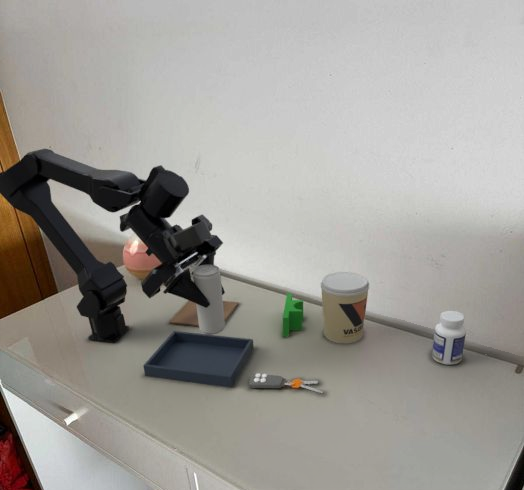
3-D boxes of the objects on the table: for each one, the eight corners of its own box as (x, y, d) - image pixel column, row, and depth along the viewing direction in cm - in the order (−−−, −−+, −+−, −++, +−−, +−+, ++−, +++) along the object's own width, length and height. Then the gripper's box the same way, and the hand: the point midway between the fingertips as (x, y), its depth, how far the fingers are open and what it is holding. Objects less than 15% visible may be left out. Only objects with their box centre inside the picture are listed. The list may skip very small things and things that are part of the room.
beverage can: (194, 330, 93) (186, 270, 86) (213, 320, 95) (207, 262, 89) (211, 338, 90) (204, 277, 84) (230, 328, 93) (225, 268, 86)
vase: (165, 263, 142) (155, 201, 133) (187, 278, 132) (178, 212, 123) (119, 276, 135) (106, 212, 126) (139, 292, 125) (125, 224, 116)
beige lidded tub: (344, 351, 97) (346, 295, 91) (310, 333, 103) (310, 280, 97) (375, 334, 102) (379, 280, 96) (341, 318, 108) (343, 267, 102)
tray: (145, 375, 93) (143, 365, 92) (175, 340, 104) (173, 330, 103) (231, 387, 88) (230, 377, 87) (253, 349, 99) (253, 339, 98)
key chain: (248, 390, 87) (247, 383, 87) (252, 377, 90) (251, 371, 90) (322, 394, 85) (322, 387, 84) (324, 381, 88) (324, 374, 87)
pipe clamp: (301, 337, 102) (301, 318, 100) (283, 337, 103) (282, 318, 100) (304, 311, 112) (303, 293, 109) (287, 311, 112) (286, 293, 110)
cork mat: (169, 323, 110) (169, 321, 110) (191, 300, 120) (191, 298, 120) (220, 328, 107) (219, 326, 107) (238, 304, 117) (238, 302, 116)
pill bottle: (460, 351, 94) (467, 310, 90) (462, 366, 90) (469, 324, 85) (431, 349, 96) (436, 307, 91) (431, 363, 91) (437, 321, 87)
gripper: (143, 221, 75) (212, 298, 76) (209, 190, 90) (266, 256, 91) (114, 262, 83) (177, 332, 84) (179, 228, 97) (232, 288, 98)
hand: (215, 300), depth 89 cm, fingers closed on beverage can, 5 cm apart
